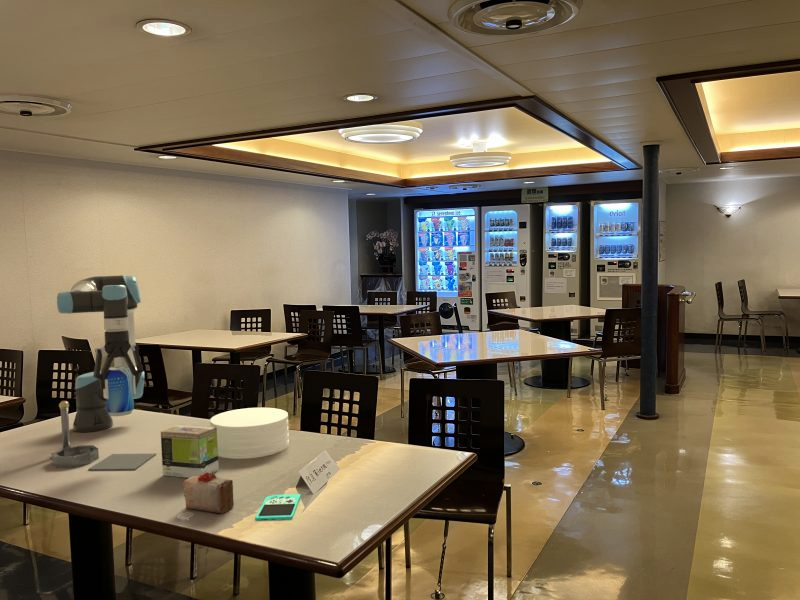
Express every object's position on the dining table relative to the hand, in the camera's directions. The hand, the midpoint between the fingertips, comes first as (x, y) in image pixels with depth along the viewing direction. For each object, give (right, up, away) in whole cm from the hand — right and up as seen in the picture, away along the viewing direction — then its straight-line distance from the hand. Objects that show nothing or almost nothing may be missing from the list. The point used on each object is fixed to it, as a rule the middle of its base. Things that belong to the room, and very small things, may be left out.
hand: (119, 395), depth 211 cm
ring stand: (-20, -23, +7) cm, 31 cm away
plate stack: (+41, -22, +17) cm, 49 cm away
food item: (+43, -25, -39) cm, 64 cm away
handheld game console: (+63, -25, -41) cm, 79 cm away
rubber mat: (0, -23, +2) cm, 23 cm away
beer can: (0, -7, 0) cm, 6 cm away
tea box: (+28, -24, -10) cm, 38 cm away
